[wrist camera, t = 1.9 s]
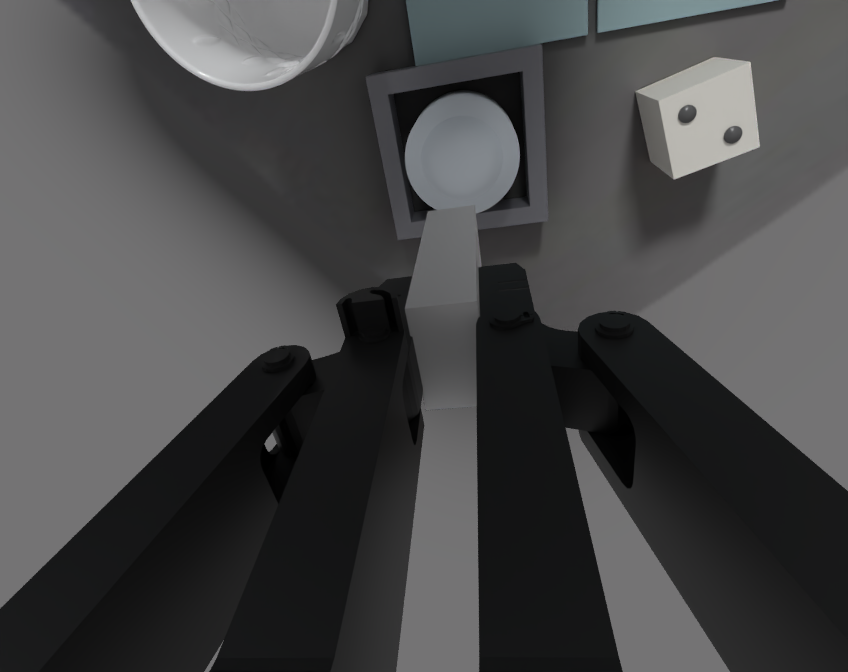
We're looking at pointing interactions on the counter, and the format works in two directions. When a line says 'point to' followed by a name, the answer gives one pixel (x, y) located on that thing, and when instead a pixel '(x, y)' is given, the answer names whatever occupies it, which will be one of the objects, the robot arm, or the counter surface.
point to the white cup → (251, 36)
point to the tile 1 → (489, 25)
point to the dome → (462, 152)
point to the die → (699, 116)
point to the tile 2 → (657, 11)
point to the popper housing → (455, 71)
